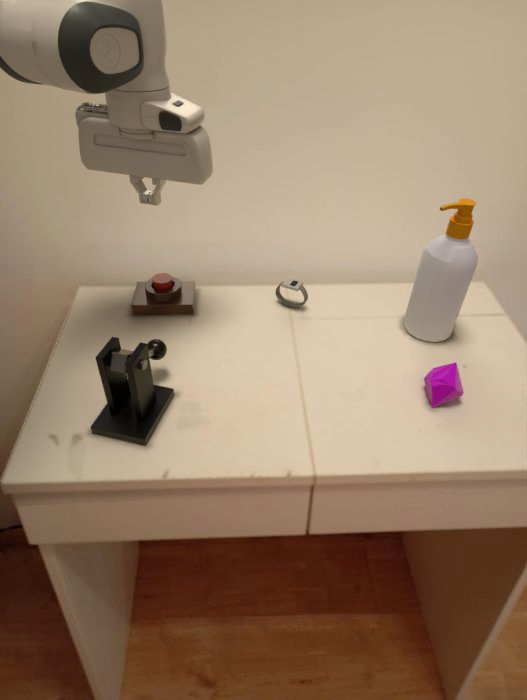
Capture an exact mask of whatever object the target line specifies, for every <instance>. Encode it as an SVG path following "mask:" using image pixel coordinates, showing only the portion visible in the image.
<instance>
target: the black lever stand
mask: <svg viewBox="0 0 527 700" xmlns="http://www.w3.org/2000/svg"><path fill="white" fill-rule="evenodd" d="M147 343H148V342H141V341H140V342H139V343H138V344H137V346H136V347H135V348H134V350H133V351H134V352H133V353H132V354H131V356H130V357H129V358H128V360H127V361H126V363H125V367H126V372H127V373H122V372H118V371H113V370H110V366H111V356H112V352H114V351H117V350H121V349H122V345H121V341H120V338H119V337H117V336H111V338H110V339H109V340H107V342H106V344H105V345H104V346H103V347H102V349H101V350H100V351H99V352H98V354H96V356H95V363H96V366H97V369H98V374H99V377H100V380H101V384H102V389H103V393H104V396H105V399H106V404H105V406H104V407H103V409H102V410H101V411H100V412H99V414H98V416H97V417H96V418H95V420H94V421H93V423H91V425H90V430H91V431H90V432H91V433H92V434H97V435H100V436H105V437H109V438H113V439H117V440H122V441H126V442H130V443H134V444H138V445H141V446H142V445H143V446H146V445H147V444H148V442H149V440H150V439H151V437H152V435H153V433H154V432H155V430H156V427H157V426H158V424H159V423H160V421H161V419H162V417H163V415H164V414H165V412H166V410H167V409H168V407H169V405H170V403H171V402H172V400H173V398H174V396H175V388H171V387H167V386H162V385H158V384H155V383H154V378H153V377H154V376H153V371H152V366H151V359H150V358H149V353H148V347H147Z"/></svg>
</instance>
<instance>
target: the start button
mask: <svg viewBox="0 0 527 700" xmlns="http://www.w3.org/2000/svg"><path fill="white" fill-rule="evenodd" d="M172 276H173V275H171V274H170V273H167V272H160V273H156V274H155V275H153V276H152V277H151V278H152V281H153V288H154V289H155V290H158V291H166V290H169V289H171V288H172V287H173V279H172Z"/></svg>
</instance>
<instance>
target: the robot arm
mask: <svg viewBox="0 0 527 700" xmlns="http://www.w3.org/2000/svg"><path fill="white" fill-rule="evenodd" d="M164 13H165V12H164V7H163V1H162V0H0V69H1V70H2V71H3V72H4V73H5V74H7V75H8V76H10V77H11V78H12V79H14V80H16V81H19V82H20V83H25V84H33V85H40V86H41V85H43V86H49V87H53V88H58V89H61V90H66V91H71V92H76V93H81V94H86V95H100V94H104V96H105V104H104V103H92V102H89V101H88V102H83V103H81V105H79V106H77V108H76V110H75V112H74V116H75V122H76V126H77V129H78V147H79V156H80V161H81V164H82V165H83V166H84V167H85V168H86V170H89V171H97V172H103V173H111V174H118V175H124V176H128V177H129V183H130V184H131V185H132V187H133V189H134V190H135V192H136V193H137V194H138V199H139V203H140V204H143V205H149V206H160V205H161V203H162V198H161V197H162V195H161V194H162V193H161V192H162V191H163V189H164V187H165V185H166V183H167V181H169V182H177V183H184V184H191V185H197V186H198V185H199V186H202V185H204V184H205V183H206V182H208V180H209V179H210V178H211V177H212V175H213V172H214V171H213V170H214V168H213V167H214V166H213V165H214V164H213V163H214V162H213V154H212V153H213V152H212V146H211V140H210V136H209V134H208V132H207V130H206V129H205V127H203V126H202V124H203V123H204V122H205V118H206V115H205V114H206V113H205V110H204V108H203V107H202V106H200V105H198V104H196V103H194V102H193V101H190V100H187V99H185V98H184V97H181V96H179V95H177V94H176V93H174V92H172V91H171V83H170V79H169V75H168V72H167V68H166V56H167V50H168V43H167V32H166V21H165V14H164ZM144 178H147V179H151V184H152V185H153V186H154V189H153V190H151V189H148V188H147V187H146V185H145V183H144V181H143V179H144Z"/></svg>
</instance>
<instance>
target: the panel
mask: <svg viewBox="0 0 527 700" xmlns="http://www.w3.org/2000/svg"><path fill="white" fill-rule="evenodd" d="M171 276H172V279H173V287H172V288H171V289H169V290H166V291H158V290H155V289H154V288H153V281H152V278H153V277H151V278H149V279H148V280H147V281H137V282H136V285H135V289H134V293H133V296H132V299H131V300H132V301H131V304H130V308H131V312H132V316H163V315H164V316H168V315H169V316H170V315H171V316H173V315H180V316H181V315H194V314H195V301H196V292H197V291H196V281H195V280H180V279H179V278H178V277H176V276H173V275H171Z"/></svg>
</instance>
